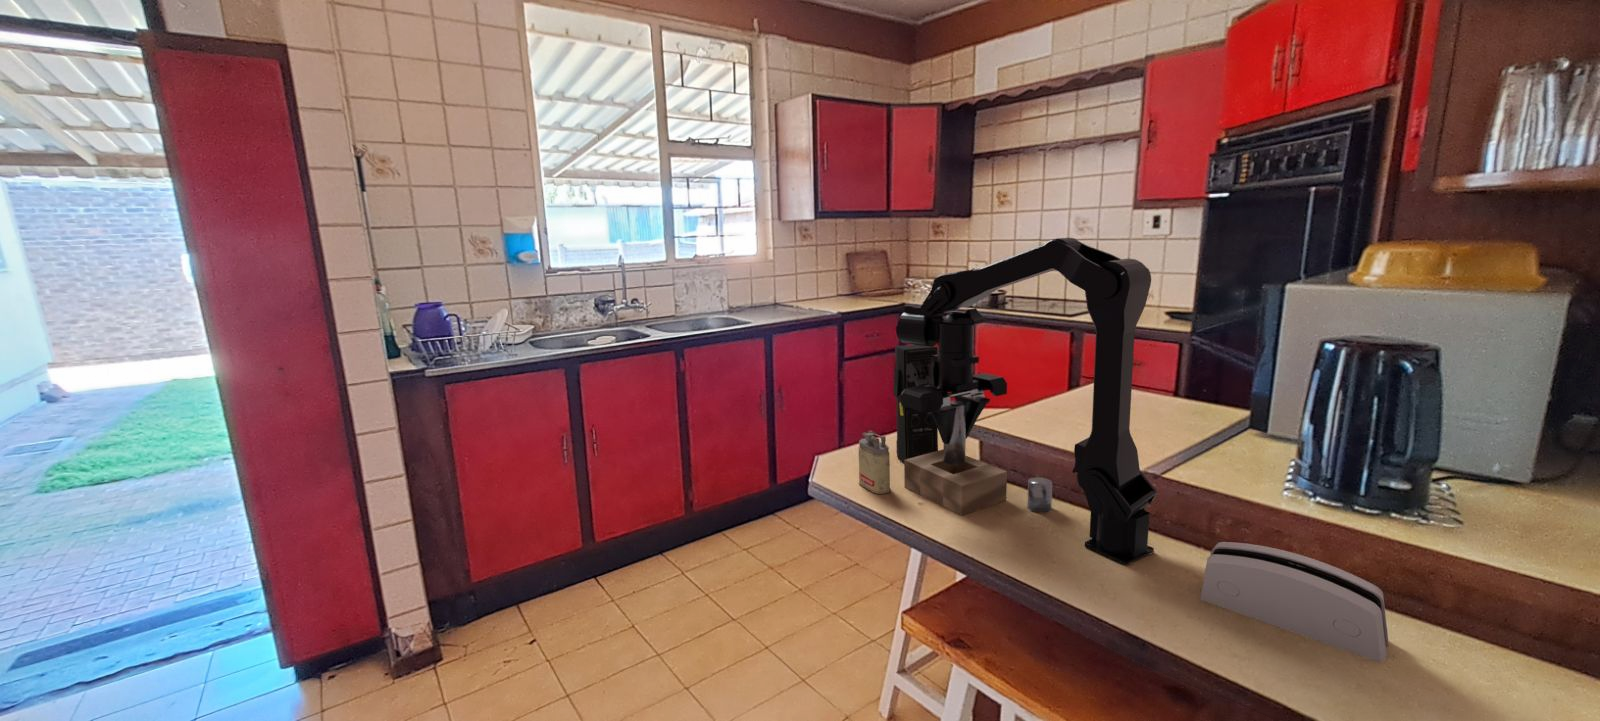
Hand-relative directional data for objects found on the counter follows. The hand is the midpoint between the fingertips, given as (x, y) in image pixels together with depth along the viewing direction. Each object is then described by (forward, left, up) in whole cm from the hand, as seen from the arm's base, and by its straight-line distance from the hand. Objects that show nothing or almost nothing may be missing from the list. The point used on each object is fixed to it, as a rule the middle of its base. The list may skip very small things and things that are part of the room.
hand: (954, 441), depth 107 cm
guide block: (0, 0, -9) cm, 9 cm away
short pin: (-12, -7, -9) cm, 17 cm away
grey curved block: (-47, -5, -10) cm, 48 cm away
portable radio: (+16, -5, -10) cm, 19 cm away
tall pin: (0, 0, -4) cm, 4 cm away
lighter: (+10, +9, -10) cm, 17 cm away
